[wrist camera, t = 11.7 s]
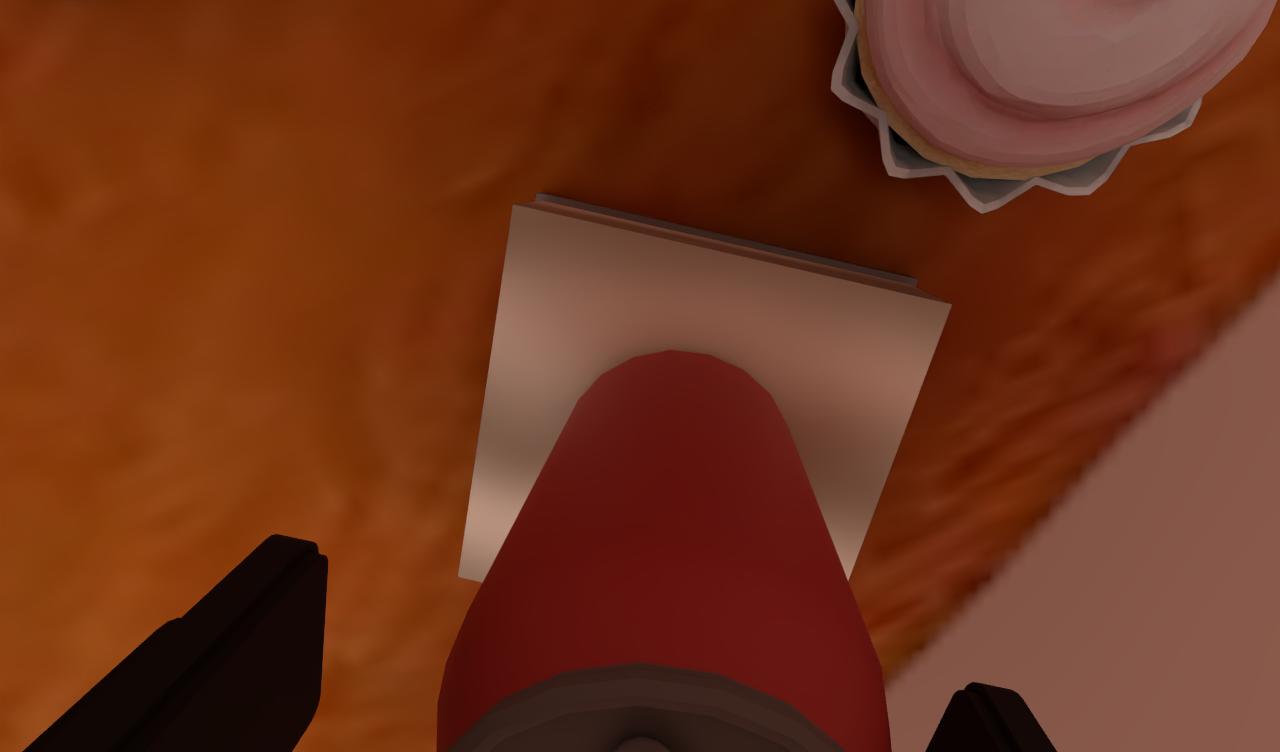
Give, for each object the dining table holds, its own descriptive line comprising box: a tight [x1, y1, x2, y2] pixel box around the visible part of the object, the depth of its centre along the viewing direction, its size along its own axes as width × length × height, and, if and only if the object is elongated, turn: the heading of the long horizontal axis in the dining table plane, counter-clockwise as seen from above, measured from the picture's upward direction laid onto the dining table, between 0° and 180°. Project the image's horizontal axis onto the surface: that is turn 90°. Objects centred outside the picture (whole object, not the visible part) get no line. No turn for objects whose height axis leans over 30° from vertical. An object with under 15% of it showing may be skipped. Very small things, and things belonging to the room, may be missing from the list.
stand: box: [458, 192, 952, 583], centre depth 21 cm, size 12×12×4 cm
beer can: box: [437, 350, 892, 752], centre depth 13 cm, size 7×7×12 cm
